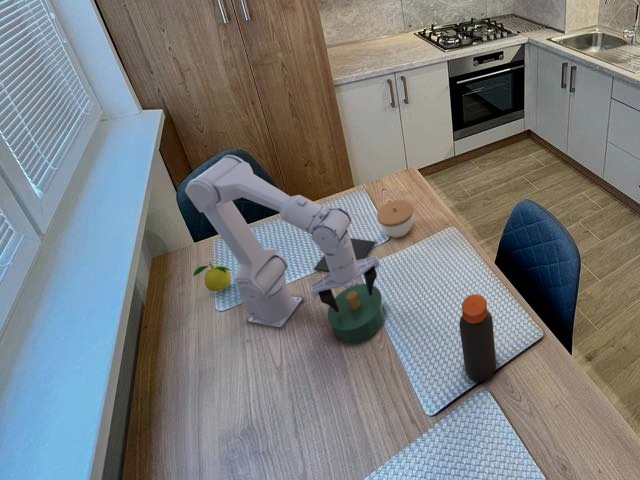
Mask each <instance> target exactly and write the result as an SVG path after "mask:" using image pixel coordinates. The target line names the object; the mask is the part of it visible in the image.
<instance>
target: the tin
mask: <svg viewBox="0 0 640 480" xmlns="http://www.w3.org/2000/svg"><path fill="white" fill-rule="evenodd" d="M383 321H384V307H383V304H382V303H381V307H380V309H379V311H378V313H377V314H376V316H375V317H374V318H373V319H372V320H371V321H370V322H368V323H367V324H366V325H364V326H362V327H360V328H358V329H355V330H351V331H340V330H337V329H335V328H333V331H334V334H335V336H336V338H337V340H338V341H340V342H341V343H343V344H347V345H355V344H356V345H357V344H360V343H363V342H365V341H367V340H368V339H370V338H371V337H373V336H374V335H375V334H376V333H377V332H378V331H379V329H380V328H381V326H382V324H383Z"/></svg>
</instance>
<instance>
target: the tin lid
mask: <svg viewBox="0 0 640 480" xmlns="http://www.w3.org/2000/svg"><path fill="white" fill-rule="evenodd" d="M334 298H335V300H336V303H337V306H338V309H339V312H337V313H336V312H335V310H334V309H333V308H332V307H331V306H329V307H328V310H327V322H328V323H329V325H330V326H331V327H332V328H333V329H334V328H335V329H337V330H340V331H351V330H355V329H358V328H360V327H362V326H364V325H366V324H367V323H368V322H370V321H371V320H372V319H373V318H374V317H375V316H376V314H377V313H378V311H379V309H380V307H381V304H382V302H383V297H382V293H381V291H380V290H379V288H378V287H376V286H375V285H373V290H372V295H369V293H368V290H367V287H366V283H359V284H354V285H353V286H351V287H349V288H347V289H346V288H344V289H343V290H342V291H341V292H339V294H337V295H336V296H335V297H334Z"/></svg>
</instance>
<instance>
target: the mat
mask: <svg viewBox="0 0 640 480" xmlns="http://www.w3.org/2000/svg"><path fill="white" fill-rule="evenodd" d="M350 240H351V243H352V247H353V250H354V254H355V257H356V260H361V259H366V257H367V256H368V254H369V253H370V251H371V249H372V248H373V246H374V245H375V244H376V242H375V241H374V240H373V241H372V240H365V239H359V238H351V237H350ZM313 270H315V271H319V272H320V271H321V272H327V273H330V271H329V268H328V265H327V262H326V259H325V256H324V255H323V256H322V258H320V259H319V261H318V263H317V264H316V265H315V266H314V268H313Z"/></svg>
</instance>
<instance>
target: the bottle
mask: <svg viewBox="0 0 640 480" xmlns="http://www.w3.org/2000/svg"><path fill="white" fill-rule="evenodd" d="M461 312H462V314H461V316H460V318H459V323H458V324H459V335H460V342H461V349H462V358H463V363H464V371H465V373H466V376H467V377H468V378H469V379H470V380H471V381H473V382H475V383H484V382H486V381H488V380H490V379H491V377H493V375H494V374H495V372H496V368H497V360H496V359H497V357H496V345H495V333H494V331H495V330H494V322H493V321H494V320H493V315H492V314H491V312H490V311H489V310H488V304H487V300H486V298H485V297H484V296H483V295H481V294H478V293H473V294H470V295H468V296H466V297H465V298H464V299H463V301H462V304H461ZM468 375H469V376H468Z"/></svg>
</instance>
